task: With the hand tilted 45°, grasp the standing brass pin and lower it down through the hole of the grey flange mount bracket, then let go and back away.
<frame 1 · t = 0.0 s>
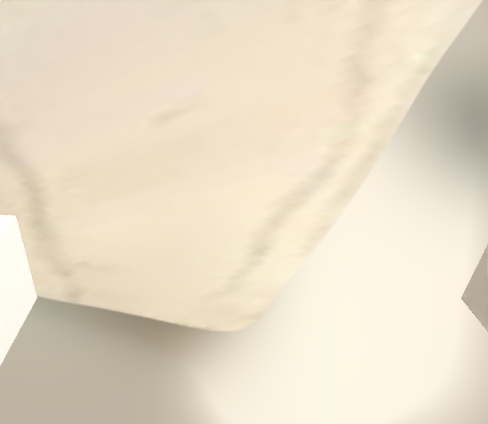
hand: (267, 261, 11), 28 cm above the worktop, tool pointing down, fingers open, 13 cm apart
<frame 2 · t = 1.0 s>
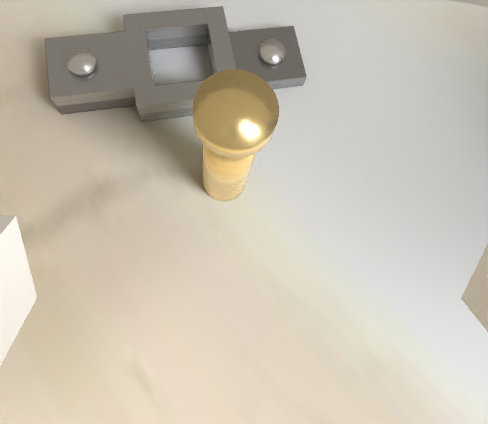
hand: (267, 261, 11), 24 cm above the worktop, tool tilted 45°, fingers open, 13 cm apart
brass pin: (223, 181, 36), on the worktop
grey flange mount bracket: (183, 72, 39), on the worktop
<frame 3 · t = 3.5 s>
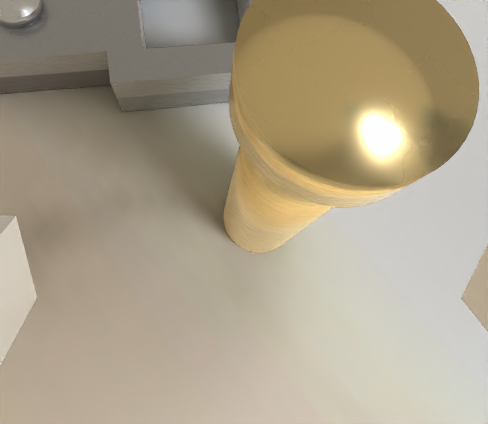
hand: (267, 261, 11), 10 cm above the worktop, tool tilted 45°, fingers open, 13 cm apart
brass pin: (258, 217, 21), on the worktop
grey flange mount bracket: (194, 34, 24), on the worktop
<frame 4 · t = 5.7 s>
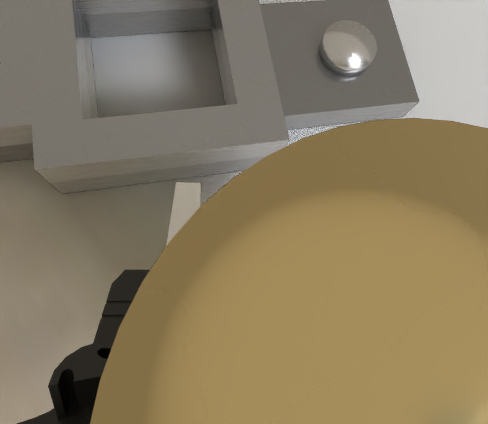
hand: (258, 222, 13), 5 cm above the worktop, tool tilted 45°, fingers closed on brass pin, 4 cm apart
brass pin: (243, 333, 16), on the worktop, touching gripper
grey flange mount bracket: (160, 86, 18), on the worktop
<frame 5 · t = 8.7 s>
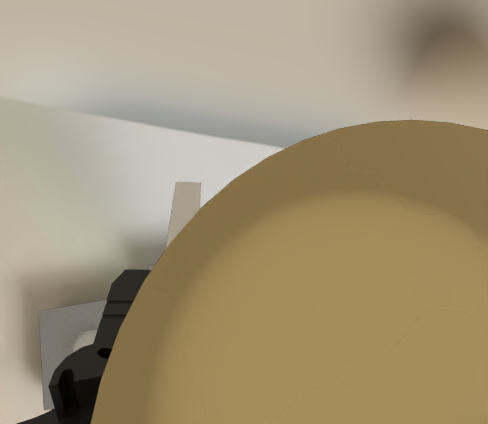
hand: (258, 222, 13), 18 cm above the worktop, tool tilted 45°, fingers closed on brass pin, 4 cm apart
brass pin: (243, 334, 16), point 13 cm above the worktop, touching gripper
grey flange mount bracket: (225, 322, 29), on the worktop
when the fingers open (6 cm above the worktop, at t = 11.5 s): brass pin drops 1 cm, resting in grey flange mount bracket.
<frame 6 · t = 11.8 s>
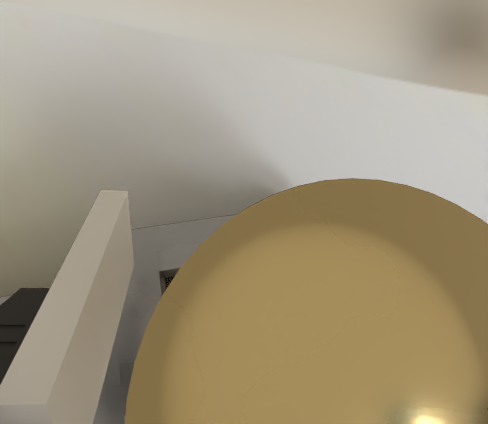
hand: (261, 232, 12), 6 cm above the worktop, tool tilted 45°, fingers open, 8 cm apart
brass pin: (239, 333, 17), resting in grey flange mount bracket
grey flange mount bracket: (239, 331, 17), on the worktop
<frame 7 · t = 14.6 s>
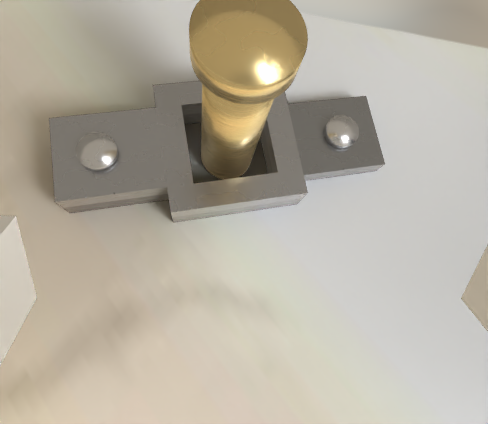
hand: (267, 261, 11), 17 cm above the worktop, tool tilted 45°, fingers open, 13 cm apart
brass pin: (226, 155, 30), resting in grey flange mount bracket
grey flange mount bracket: (226, 154, 30), on the worktop
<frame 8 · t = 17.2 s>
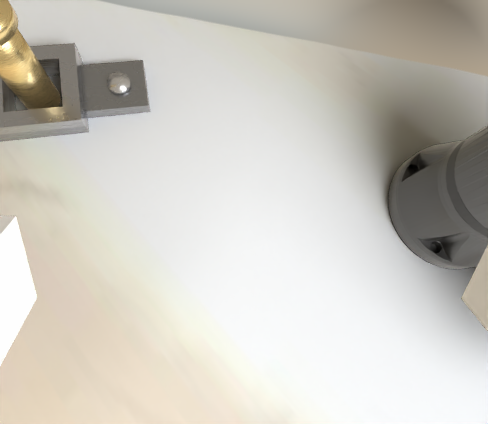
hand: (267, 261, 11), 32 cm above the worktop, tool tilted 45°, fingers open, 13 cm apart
brass pin: (42, 99, 45), resting in grey flange mount bracket
grey flange mount bracket: (42, 99, 45), on the worktop
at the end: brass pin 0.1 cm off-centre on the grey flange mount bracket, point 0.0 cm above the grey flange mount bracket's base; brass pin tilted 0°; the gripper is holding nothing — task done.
